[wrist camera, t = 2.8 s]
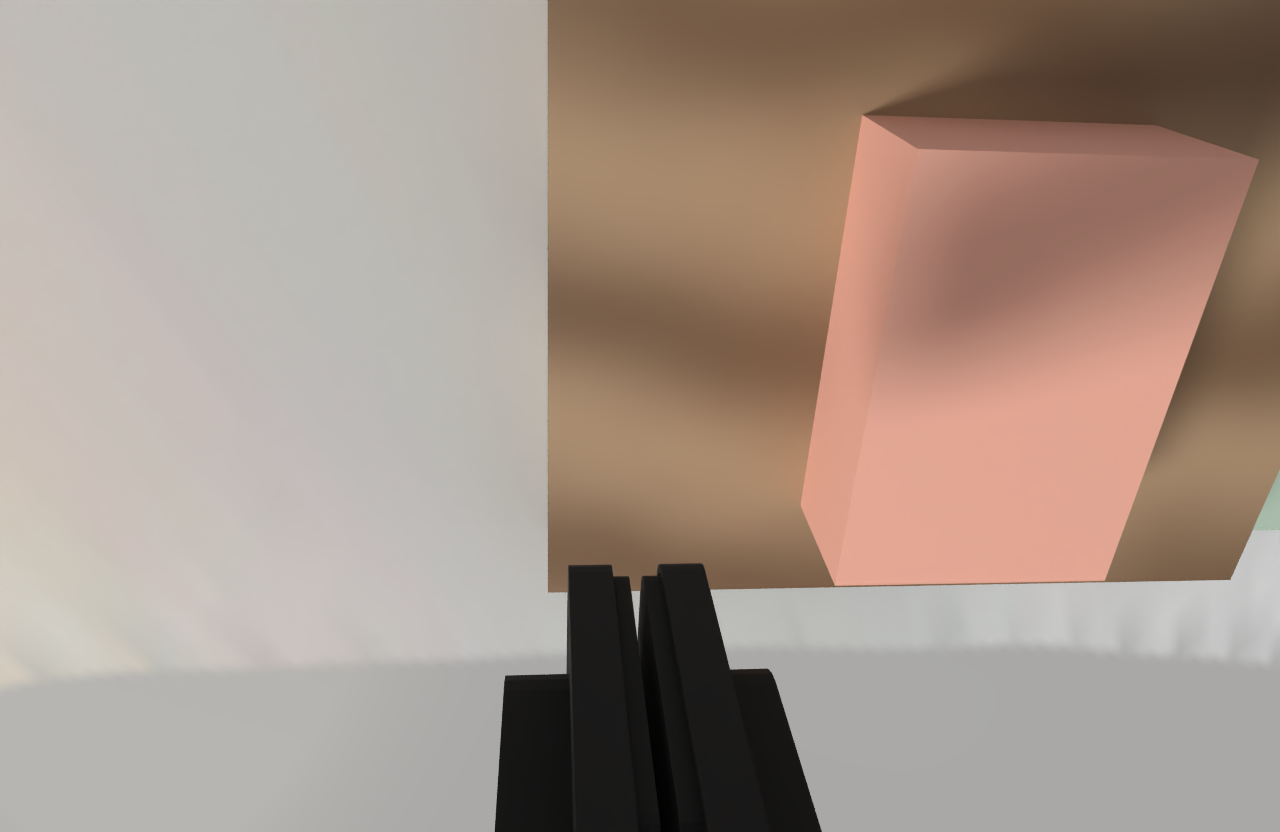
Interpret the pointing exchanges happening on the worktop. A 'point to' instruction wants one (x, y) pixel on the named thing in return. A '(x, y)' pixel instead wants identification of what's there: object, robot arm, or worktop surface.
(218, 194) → the worktop surface
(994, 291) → the pink rectangular block
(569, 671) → the robot arm
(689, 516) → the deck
